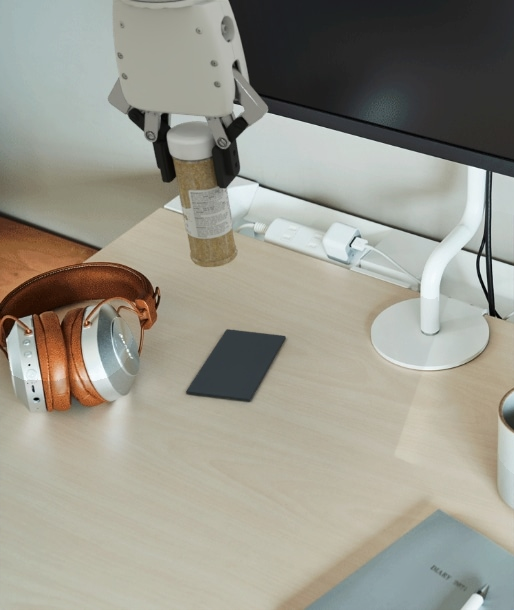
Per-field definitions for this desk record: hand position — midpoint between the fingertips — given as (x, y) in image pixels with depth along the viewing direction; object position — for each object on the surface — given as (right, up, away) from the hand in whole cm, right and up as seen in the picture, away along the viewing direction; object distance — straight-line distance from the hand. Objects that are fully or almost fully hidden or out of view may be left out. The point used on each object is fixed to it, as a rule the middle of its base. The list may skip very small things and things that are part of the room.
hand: (200, 176), depth 85 cm
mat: (-1, -18, +16) cm, 24 cm away
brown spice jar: (0, -7, +5) cm, 9 cm away
